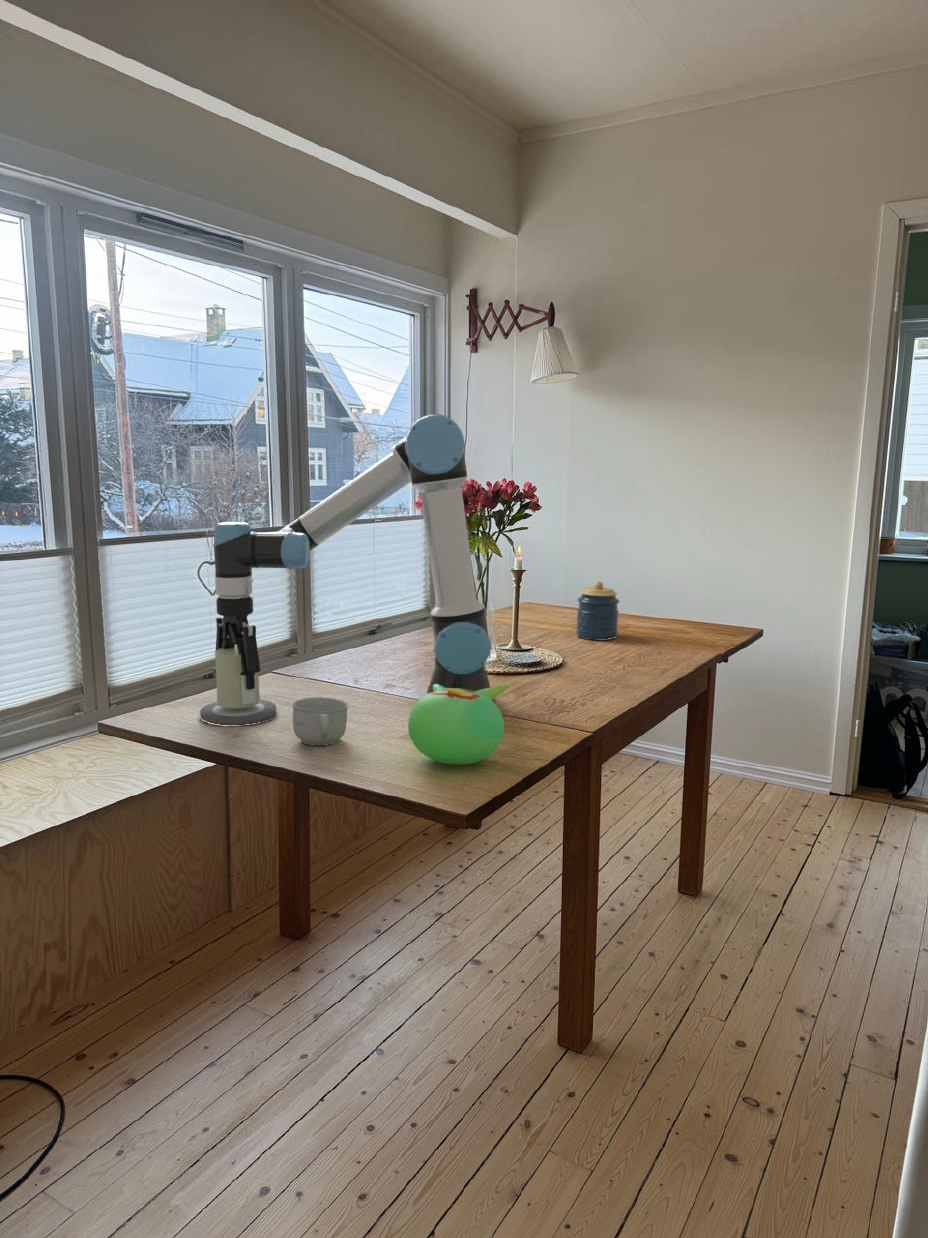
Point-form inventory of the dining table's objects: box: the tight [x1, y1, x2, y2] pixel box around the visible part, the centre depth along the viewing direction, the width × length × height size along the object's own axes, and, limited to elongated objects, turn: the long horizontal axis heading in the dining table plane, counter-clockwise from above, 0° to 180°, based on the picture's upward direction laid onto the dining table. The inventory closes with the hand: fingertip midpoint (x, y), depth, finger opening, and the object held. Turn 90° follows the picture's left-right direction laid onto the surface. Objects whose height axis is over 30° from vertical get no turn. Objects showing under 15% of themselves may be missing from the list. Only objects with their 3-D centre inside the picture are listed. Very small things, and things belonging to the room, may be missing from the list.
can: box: [214, 645, 261, 709], centre depth 188 cm, size 9×9×12 cm
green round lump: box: [407, 684, 510, 766], centre depth 163 cm, size 18×17×15 cm
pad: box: [199, 698, 277, 725], centre depth 190 cm, size 16×16×2 cm
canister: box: [575, 580, 620, 639], centre depth 275 cm, size 13×13×18 cm
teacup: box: [292, 696, 349, 746], centre depth 172 cm, size 14×11×8 cm
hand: (238, 698), depth 189 cm, fingers closed on can, 9 cm apart
